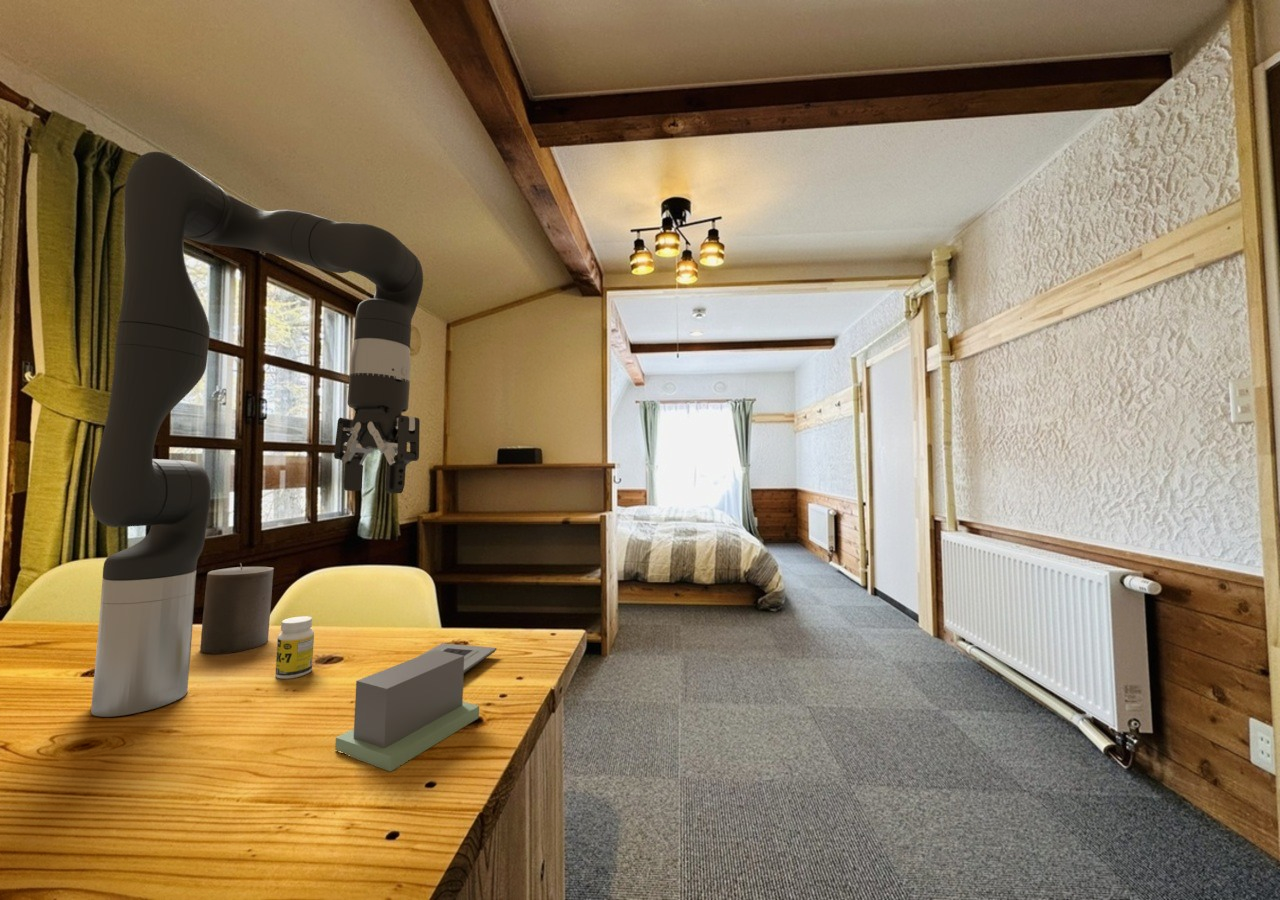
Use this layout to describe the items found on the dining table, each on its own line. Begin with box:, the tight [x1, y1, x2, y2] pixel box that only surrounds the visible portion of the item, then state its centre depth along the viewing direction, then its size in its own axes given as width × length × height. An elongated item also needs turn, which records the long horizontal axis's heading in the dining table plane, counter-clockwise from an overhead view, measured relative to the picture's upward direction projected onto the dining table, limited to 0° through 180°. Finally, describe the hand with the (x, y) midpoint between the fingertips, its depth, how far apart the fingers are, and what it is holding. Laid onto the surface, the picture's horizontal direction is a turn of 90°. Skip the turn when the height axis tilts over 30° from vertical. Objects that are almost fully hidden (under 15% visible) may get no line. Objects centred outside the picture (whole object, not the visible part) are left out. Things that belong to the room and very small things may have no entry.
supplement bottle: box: [275, 615, 315, 680], centre depth 77 cm, size 5×5×8 cm
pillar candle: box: [199, 562, 275, 655], centre depth 90 cm, size 10×10×15 cm
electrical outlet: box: [417, 642, 497, 674], centre depth 79 cm, size 13×10×2 cm
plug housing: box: [353, 650, 465, 748], centre depth 59 cm, size 5×11×6 cm, turn 156°
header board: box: [334, 701, 480, 772], centre depth 59 cm, size 9×13×6 cm
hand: (372, 492), depth 67 cm, fingers open, 8 cm apart
